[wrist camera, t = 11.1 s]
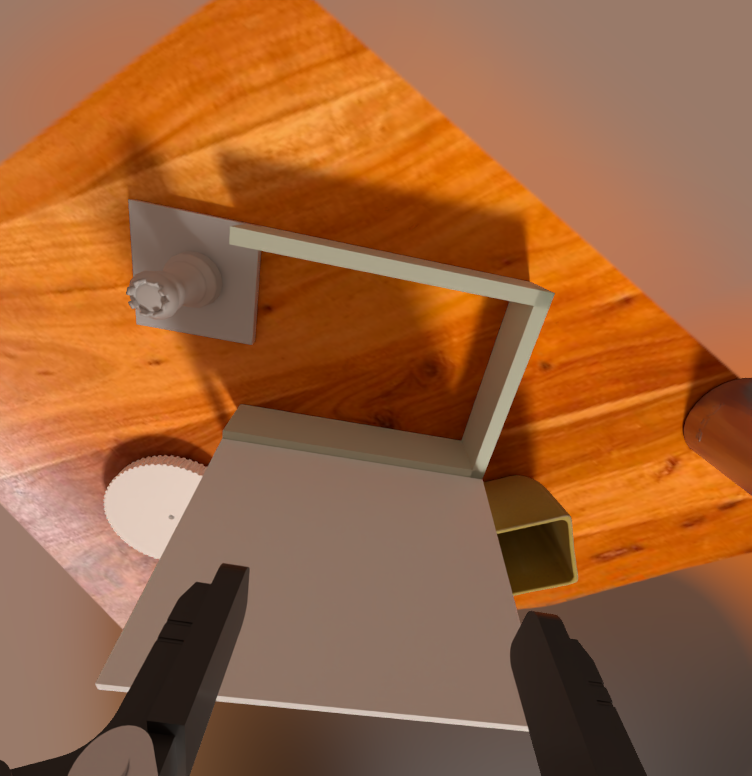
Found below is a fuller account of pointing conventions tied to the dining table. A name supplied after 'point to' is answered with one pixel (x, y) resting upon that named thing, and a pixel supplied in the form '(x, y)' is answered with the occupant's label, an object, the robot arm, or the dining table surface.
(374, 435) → the frame
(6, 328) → the dining table surface
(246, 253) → the slate tile
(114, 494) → the plastic lid
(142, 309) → the rook chess piece
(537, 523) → the flower pot
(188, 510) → the lid propped
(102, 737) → the robot arm
